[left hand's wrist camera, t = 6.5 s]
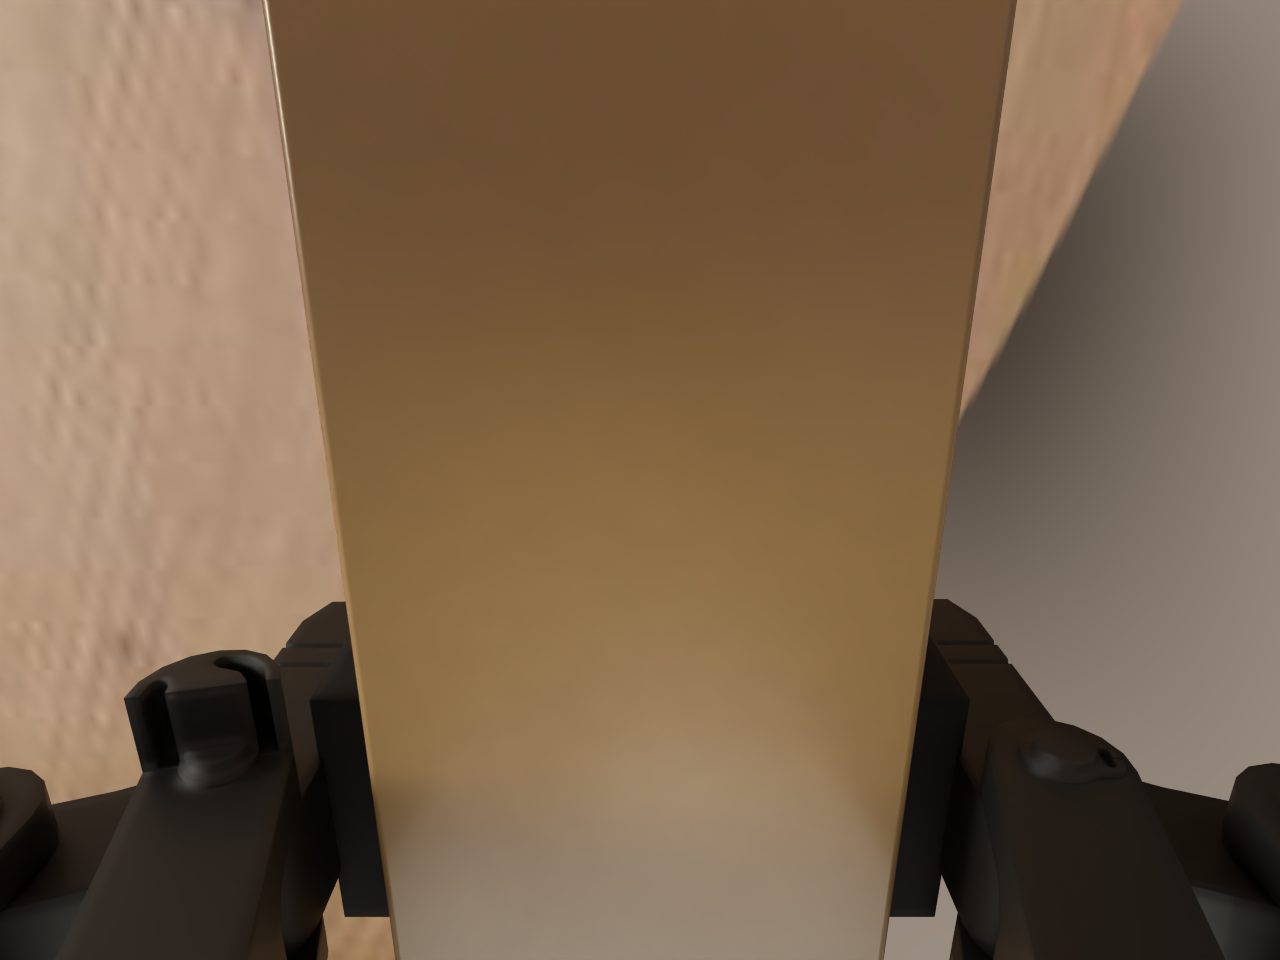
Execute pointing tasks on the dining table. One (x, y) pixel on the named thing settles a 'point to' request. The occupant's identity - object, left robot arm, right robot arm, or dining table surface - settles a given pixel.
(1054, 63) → the dining table surface
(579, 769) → the bar
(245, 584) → the dining table surface
